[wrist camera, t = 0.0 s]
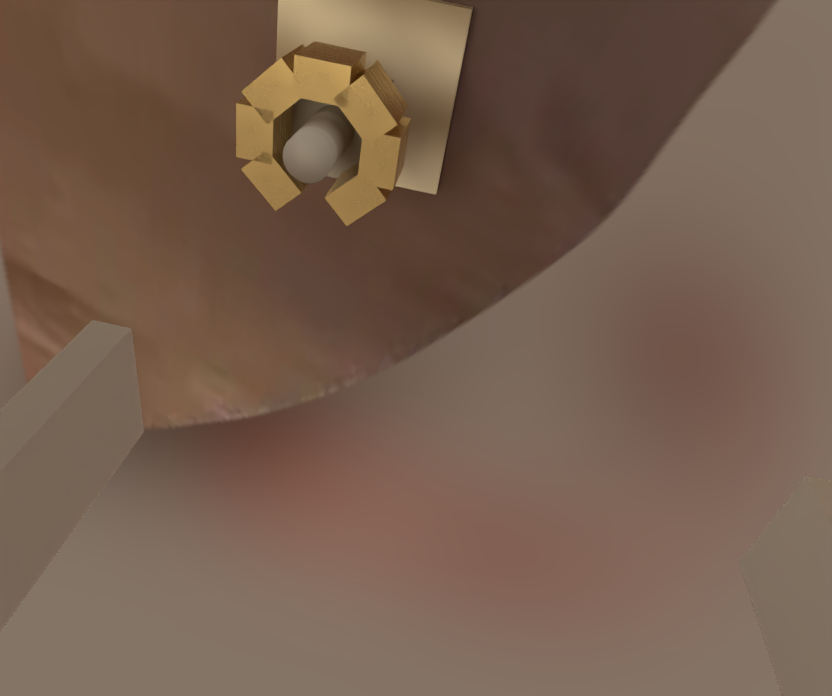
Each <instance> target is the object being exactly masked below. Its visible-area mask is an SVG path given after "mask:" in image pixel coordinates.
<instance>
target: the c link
mask: <svg viewBox="0 0 832 696" xmlns="http://www.w3.org/2000/svg"><path fill="white" fill-rule="evenodd" d="M366 53H367V52H364V51H359V50H355V49H350V48H345V47H340V46H335V45H331V44H326V43H321V42H316V41H314V42H312V43H311V44H309V45H308V46H306V47H305V46H304V45H303V44H302V45H300V46H299V47H297V48H296V49H294V50H292V51H291V52H289V53H288V54H286V55H285V56H283V57H282V58H280V59H279V60H278V61H277V62H276V63H274V64H273V65H272V66H271V67H270V68H269V69H267V70H266V71H265V72H264V73H263V74H261V75H260V76H259V77H258V78H257V79H256V80H254V81H253V82H252V83H251V84H250V85H248V86H247V87H246V88H245V89H244V90H242V91H241V92H242V93H243V94H244V96H245V97H244V98H243V99H242V100H240V101H239V102H237V103H236V157H239V158H244V159H248V160H250V161H249V162H248V163H247V164H246V165H245V166H244V167H243V168H242V169H241V170H242V171H243V172H244V173H245V175H246V176H247V177H248V178H249V179H250V181H251V182H252V183H253V184H254V185H255V187H256V188H257V189H258V190H259V191H260V193H261V194H262V195H263V196H264V197H265V199H266V200H267V201H268V202H269V204H270V205H271V206H272V207H273V208H274V210H275V211H276V210H278V209H279V208H280V207H282V206H283V205H285V204H286V203H287V202H289V201H290V200H292V199H293V198H295V197H296V196H297V195H299V194H300V193H301V192H302V191H303V190H304V189H305V187H306V186H307V185H308V183H304V182H301V181H299V180H297V179H295V178H294V177H293V176H292V175H291V174H290V173H289V172H288V170H287V169H286V167H285V165H284V162H283V149H284V146H285V144H286V143H287V142H288V140H289V139H290V138H291V137H292V136H293V118H294V103H295V102H297V101H298V100H299V99H301V98H302V99H307V100H312V101H317V102H321V103H326V104H331V105H335V106H339V107H340V109H341V110H342V112H343V113H344V114H345V116H346V117H347V119H348V120H349V121H350V123H351V124H352V125H353V127H354V128H355V130H356V131H357V132H358V134H359V135H360V137H361V138H362V144H361V153H360V161H359V162H357V163H356V164H354V165H353V166H351V167H350V168H349V169H347V170H346V171H344V172H343V173H341V174H340V175H339V177H338V178H337V180H336V181H335V183H334V184H333V186H332V187H331V189H330V190H329V192H328V193H327V195H326V196H325V199H326V200H327V202H328V203H329V204H330V205H331V207H332V208H333V209H334V211H335V212H336V213H337V214H338V216H339V217H340V218H341V219H342V221H343V222H344V223H345V225H346V226H348V225H349V224H351V223H352V222H354V221H355V220H357V219H359V218H360V217H362V216H363V215H365V214H366V213H368V212H369V211H371V210H372V209H374V208H375V207H377V206H379V205H380V204H382V203H383V202H385V201H386V200H387V198H388V196H389V194H390V192H391V190H393V189H394V187H395V185H396V182H397V180H398V178H399V176H400V174H401V171H402V169H403V167H404V160H405V154H406V148H407V141H408V135H409V129H410V122H411V118H408V117H403V114H404V113H405V111H406V109H407V107H408V104H407V103H406V101H405V100H404V98H403V97H402V95H401V94H400V92H399V91H398V90H397V88H396V87H395V85H394V84H393V82H392V81H391V79H390V78H389V76H388V75H387V73H386V72H385V70H384V69H383V67H382V66H381V64H380V63H379V61H378V60H376V61H375V62H374V63H373V64H371V65H370V66H369V67H367V68H366V69H365V62H366Z"/></svg>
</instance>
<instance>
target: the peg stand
mask: <svg viewBox="0 0 832 696" xmlns="http://www.w3.org/2000/svg"><path fill="white" fill-rule="evenodd" d="M472 11H473V7H471V6H466V5H462V4H457V3H452V2H447V1H442V0H278V23H277V53H276V62H277V61H278V60H279V59H280V58H282V57H283V56H285V55H286V54H288V53H289V52H291V51H292V50H294V49H296V48H297V47H299V46H300V45H302V44H303V45H304V46H305V47H306V46H308V45H309V44H311V43H312V42H314V41H316V42H321V43H326V44H331V45H335V46H340V47H345V48H350V49H355V50H359V51H364V52H367V53H366V62H365V69H366V68H367V67H369V66H370V65H371V64H373V63H374V62H375V61H376V60H378V61H379V63H380V64H381V66H382V67H383V69H384V70H385V72H386V73H387V75H388V76H389V78H390V79H391V81H392V82H393V84H394V85H395V87H396V88H397V90H398V91H399V92H400V94H401V95H402V97H403V98H404V100H405V101H406V103H407V104H408V107H407V109H406V111H405V113H404V114H403V117H408V118H411V122H410V129H409V135H408V141H407V148H406V154H405V160H404V167H403V169H402V171H401V174H400V176H399V178H398V180H397V182H396V185H395V186H398V187H402V188H407V189H412V190H416V191H421V192H426V193H430V194H435V195H436V193H437V190H438V185H439V180H440V175H441V169H442V164H443V159H444V154H445V149H446V144H447V139H448V134H449V128H450V123H451V118H452V113H453V108H454V103H455V98H456V93H457V87H458V82H459V77H460V72H461V67H462V62H463V57H464V52H465V46H466V41H467V36H468V31H469V26H470V21H471V16H472ZM361 144H362V138H361V137H360V135H359V134H358V132H357V131H356V130H355V128H354V127H353V125H352V124H351V123H350V121H349V120H348V119H347V117H346V116H345V114H344V113H343V112H342V110H341V109H340V107H339V106H335V105H331V104H326V103H321V102H317V101H312V100H307V99H302V98H301V99H299V100H298V101H297V102H295V103H294V118H293V136H292V137H291V138H290V139H289V140H288V142H287V143H286V144H285V146H284V149H283V162H284V165H285V167H286V169H287V170H288V172H289V173H290V174H291V175H292V176H293V177H294V178H295V179H297V180H299V181H301V182H304V183H316V182H319V181H321V180H322V179H324V178H325V177H326V176H327V177H332V178H338V177H339V175H340V174H341V173H343V172H344V171H346V170H347V169H349V168H350V167H351V166H353V165H354V164H356V163H357V162H359V161H360V153H361Z"/></svg>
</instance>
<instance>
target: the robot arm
mask: <svg viewBox="0 0 832 696" xmlns="http://www.w3.org/2000/svg"><path fill="white" fill-rule="evenodd" d="M143 432H144V430H143V421H142V413H141V405H140V396H139V388H138V380H137V371H136V363H135V355H134V346H133V338H132V330H131V328H127V327H122V326H118V325H113V324H109V323H104V322H100V321H95V320H92V321H91V322H90V323H89V324H88V325H87V326H86V327H85V328H84V329H83V330H82V331H81V332H80V333H79V334H78V335H77V336H76V337H75V338H74V339H73V340H72V341H71V342H70V343H68V344H67V345H66V346H65V347H64V348H63V349H62V350H61V351H60V352H59V353H58V354H57V355H56V356H55V357H54V358H53V359H52V360H51V361H50V362H49V363H48V364H47V365H46V366H45V367H44V368H43V369H42V370H41V371H40V372H39V373H38V374H37V375H36V376H35V377H33V378H32V379H31V380H30V381H29V382H28V383H27V384H26V385H25V386H24V387H23V388H22V389H21V390H20V391H19V392H18V393H17V394H16V395H15V396H14V397H13V398H12V399H11V400H10V401H9V402H8V403H7V404H6V405H5V406H4V407H3V408H2V409H1V410H0V632H1V630H2V629H3V627H4V626H5V625H6V623H7V622H8V621H9V619H10V618H11V616H12V615H13V613H14V612H15V611H16V609H17V608H18V607H19V605H20V604H21V602H22V601H23V599H24V598H25V597H26V595H27V594H28V592H29V591H30V590H31V588H32V587H33V586H34V584H35V583H36V581H37V580H38V579H39V577H40V576H41V574H42V573H43V572H44V570H45V569H46V567H47V566H48V565H49V563H50V562H51V560H52V559H53V557H54V556H55V555H56V553H57V552H58V551H59V549H60V548H61V546H62V545H63V544H64V542H65V541H66V540H67V538H68V537H69V535H70V534H71V533H72V531H73V530H74V528H75V527H76V526H77V524H78V523H79V521H80V520H81V519H82V517H83V516H84V514H85V513H86V512H87V510H88V509H89V507H90V506H91V505H92V503H93V502H94V500H95V499H96V498H97V496H98V495H99V493H100V492H101V491H102V489H103V488H104V486H105V485H106V484H107V482H108V481H109V479H110V478H111V477H112V475H113V474H114V472H115V471H116V470H117V468H118V467H119V465H120V464H121V463H122V461H123V460H124V458H125V457H126V456H127V454H128V453H129V452H130V450H131V449H132V447H133V446H134V445H135V443H136V441H137V440H138V439H139V437H140V436H141V435H142V433H143ZM739 565H740V569H741V571H742V575H743V578H744V581H745V584H746V587H747V590H748V593H749V596H750V599H751V602H752V605H753V608H754V611H755V614H756V617H757V620H758V623H759V626H760V629H761V633H762V636H763V639H764V642H765V645H766V648H767V651H768V654H769V657H770V660H771V663H772V666H773V669H774V672H775V675H776V678H777V682H778V685H779V688H780V691H781V694H782V696H832V481H828V480H824V479H819V478H815V477H810V476H805V477H804V479H803V480H802V481H801V483H800V484H799V485H798V486H797V488H796V489H795V490H794V492H793V493H792V494H791V496H790V497H789V498H788V499H787V501H786V502H785V503H784V505H783V506H782V507H781V508H780V510H779V511H778V512H777V514H776V515H775V516H774V518H773V519H772V520H771V521H770V523H769V524H768V525H767V527H766V528H765V529H764V531H763V532H762V533H761V534H760V536H759V537H758V538H757V540H756V541H755V542H754V544H753V545H752V546H751V547H750V549H749V550H748V551H747V553H746V554H745V555H744V557H743V558H742V559H741V560H740V562H739Z"/></svg>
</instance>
